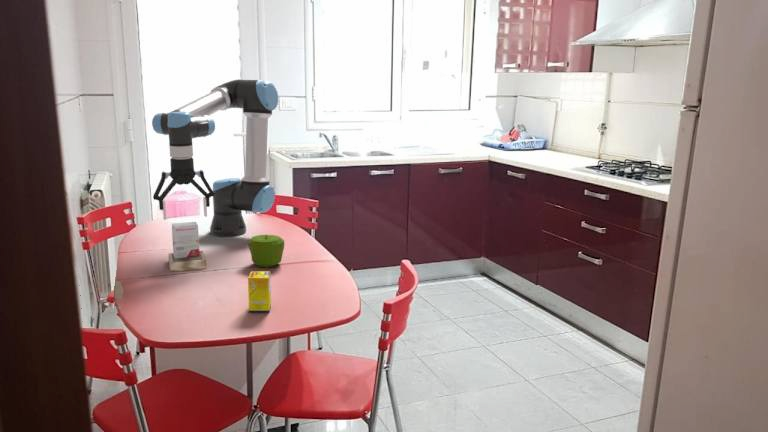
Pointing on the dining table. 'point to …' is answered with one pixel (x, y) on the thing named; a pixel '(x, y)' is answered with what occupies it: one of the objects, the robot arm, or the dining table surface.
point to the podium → (187, 262)
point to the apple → (266, 250)
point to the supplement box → (259, 291)
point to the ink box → (185, 240)
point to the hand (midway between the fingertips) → (185, 217)
